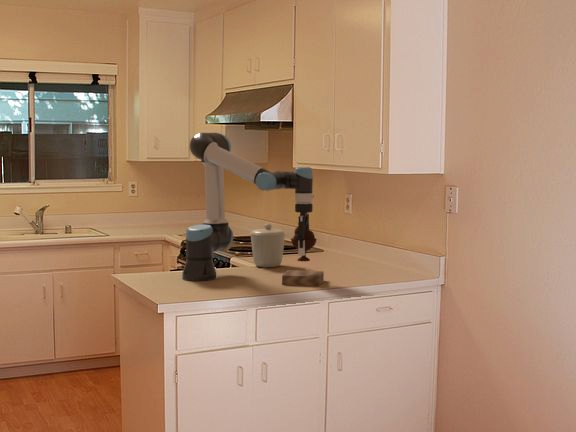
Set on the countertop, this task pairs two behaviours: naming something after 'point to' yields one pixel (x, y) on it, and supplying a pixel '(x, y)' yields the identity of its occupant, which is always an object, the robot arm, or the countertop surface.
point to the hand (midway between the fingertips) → (303, 253)
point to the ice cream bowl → (309, 242)
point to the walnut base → (303, 278)
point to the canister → (267, 246)
